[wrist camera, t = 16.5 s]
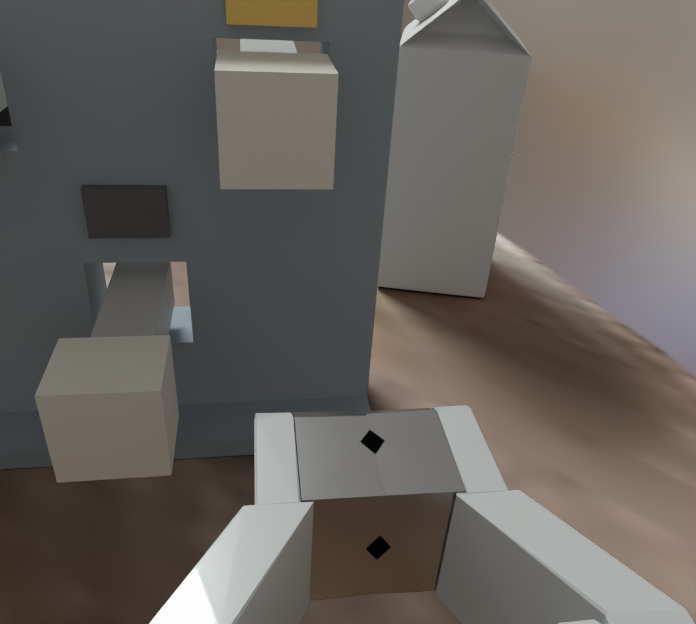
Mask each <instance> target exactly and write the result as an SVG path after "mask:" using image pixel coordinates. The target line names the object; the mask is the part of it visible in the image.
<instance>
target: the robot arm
mask: <svg viewBox="0 0 696 624" xmlns="http://www.w3.org/2000/svg"><path fill="white" fill-rule="evenodd" d="M254 468H255V505H246V506H242V508H241V509H240V510H239V511H238V513H237V514H236V515H235V516H234V518H233V519H232V520H231V521H230V523H229V524H228V525H227V526H226V528H225V529H224V530H223V532H222V533H221V534H220V535H219V537H218V538H217V539H216V540H215V542H214V543H213V544H212V545H211V547H210V548H209V549H208V550H207V552H206V553H205V554H204V555H203V557H202V558H201V559H200V560H199V562H198V563H197V564H196V565H195V567H194V568H193V569H192V570H191V572H190V573H189V574H188V575H187V577H186V578H185V579H184V580H183V582H182V583H181V584H180V585H179V587H178V588H177V589H176V590H175V592H174V593H173V594H172V595H171V597H170V598H169V599H168V600H167V602H166V603H165V604H164V605H163V607H162V608H161V609H160V610H159V612H158V613H157V614H156V615H155V617H154V618H153V619H152V620H151V622H150V623H149V624H300V622H301V620H302V618H303V616H304V614H305V612H306V610H307V608H308V606H309V601H310V600H320V599H329V598H338V597H348V596H357V595H366V594H372V593H373V594H381V593H401V592H420V591H436V593H435V594H436V595H437V596H438V598H439V599H440V600H441V601H442V602H443V603H444V604H445V606H446V607H447V608H448V609H449V610H450V611H451V612H452V614H453V615H454V616H455V617H456V618H457V619H458V620H459V621H460V623H461V624H695V623H694V622H693V620H692V618H691V617H690V615H689V614H688V612H687V611H686V609H685V608H683V607H682V606H681V605H679V604H678V603H676V602H675V601H674V600H672V599H671V598H669V597H668V596H667V595H665V594H664V593H662V592H661V591H660V590H658V589H657V588H655V587H654V586H653V585H651V584H650V583H649V582H647V581H646V580H644V579H643V578H642V577H640V576H639V575H637V574H636V573H635V572H633V571H632V570H630V569H629V568H628V567H626V566H625V565H623V564H622V563H621V562H619V561H618V560H616V559H615V558H614V557H612V556H611V555H610V554H608V553H607V552H605V551H604V550H603V549H601V548H600V547H598V546H597V545H596V544H594V543H593V542H591V541H590V540H589V539H587V538H586V537H584V536H583V535H582V534H580V533H579V532H577V531H576V530H575V529H573V528H572V527H571V526H569V525H568V524H566V523H565V522H564V521H562V520H561V519H559V518H558V517H557V516H555V515H554V514H552V513H551V512H550V511H548V510H547V509H545V508H544V507H543V506H541V505H540V504H538V503H537V502H536V501H534V500H533V499H532V498H530V497H529V496H527V495H526V494H525V493H523V492H522V491H520V490H509V489H508V487H507V485H506V483H505V481H504V479H503V476H502V474H501V472H500V470H499V468H498V466H497V463H496V461H495V459H494V457H493V455H492V453H491V450H490V448H489V446H488V444H487V442H486V440H485V437H484V435H483V433H482V431H481V429H480V427H479V424H478V422H477V420H476V418H475V416H474V414H473V411H472V409H470V408H469V407H468V406H467V405H463V406H446V407H432V409H430V408H423V409H400V410H377V411H328V412H293V415H292V413H256V414H255V419H254Z"/></svg>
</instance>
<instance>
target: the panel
mask: <svg viewBox="0 0 696 624" xmlns="http://www.w3.org/2000/svg"><path fill="white" fill-rule="evenodd" d="M403 5H404V0H0V73H1V78H2V82H3V87H4V91H5V96H6V100H7V105H8V109H9V114H10V118H11V123H12V126H0V155H1V156H0V469H15V468H33V467H50V466H53V465H52V462H51V458H50V454H49V450H48V446H47V443H46V439H45V435H44V431H43V427H42V423H41V420H40V416H39V412H38V408H37V404H36V401H35V397H34V396H35V394H36V391H37V389H38V387H39V384H40V382H41V379H42V377H43V375H44V372H45V370H46V368H47V365H48V363H49V360H50V358H51V356H52V353H53V351H54V349H55V346H56V344H57V342H58V339H59V338H89V337H91V334H92V331H93V328H94V326H95V323H96V320H97V317H98V314H99V311H100V308H101V306H102V303H103V300H104V297H105V294H106V291H107V287H106V281H105V275H104V269H103V263H110V262H181V261H186V263H187V275H188V286H189V298H190V307H174V308H173V314H172V320H171V325H170V331H169V335H170V338H171V347H172V357H173V366H174V375H175V384H176V393H177V402H178V411H179V419H178V427H177V435H176V443H175V451H174V459H186V458H203V457H220V456H237V455H254V419H255V414H256V413H292V415H293V412H328V411H371V410H370V406H369V402H368V398H367V391H368V380H369V369H370V359H371V348H372V337H373V327H374V316H375V305H376V295H377V284H378V273H379V263H380V252H381V241H382V230H383V220H384V209H385V198H386V188H387V177H388V166H389V156H390V145H391V134H392V124H393V113H394V102H395V91H396V81H397V70H398V59H399V49H400V38H401V27H402V16H403ZM216 38H233V39H259V40H286V41H314V42H320V54H327V55H328V56H329V58H330V60H331V62H332V63H333V65H334V67H335V69H336V70H337V72H338V74H339V76H338V97H337V118H336V140H335V161H334V182H333V190H323V189H220V171H219V151H218V132H217V113H216V94H215V74H214V69H215V63H216V57H217V46H216Z"/></svg>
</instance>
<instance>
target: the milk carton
mask: <svg viewBox="0 0 696 624" xmlns="http://www.w3.org/2000/svg"><path fill="white" fill-rule="evenodd" d="M408 7H409V9H410V10H411V12H412V13H413V14H414V17H415V18H416V19H415V20H414V21H412V22H411V23H410V24H409V25H408V26H407V27H406V28H405V30H404V32H403V35H402V38H401V41H400V49H399V59H398V70H397V81H396V91H395V102H394V113H393V124H392V134H391V145H390V156H389V166H388V177H387V188H386V198H385V209H384V220H383V230H382V241H381V252H380V263H379V273H378V284H377V286H379V287H388V288H397V289H405V290H415V291H424V292H433V293H442V294H451V295H460V296H470V297H480V298H484V296H485V292H486V287H487V282H488V277H489V272H490V267H491V262H492V257H493V251H494V246H495V241H496V236H497V231H498V226H499V221H500V216H501V211H502V206H503V201H504V196H505V191H506V185H507V181H508V176H509V171H510V165H511V160H512V155H513V150H514V145H515V140H516V135H517V130H518V125H519V120H520V115H521V110H522V105H523V100H524V95H525V90H526V85H527V80H528V74H529V69H530V64H531V59H532V57H531V55H530V53H529V52H528V50H527V49H526V47H525V46H524V44H523V43H522V42H521V40H520V38H519V37H518V36H517V34H515V32H514V31H513V30H512V28H511V27H510V26H509V25H508V24H507V23H506V22H505V20H504V19H503V18H502V17H501V15H500V14H499V13H498V12H497V10H496V9H495V8H494V7H493V6H492V4H491V3H490V2H489V1H488V0H412V1H410V3H409V4H408Z"/></svg>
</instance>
